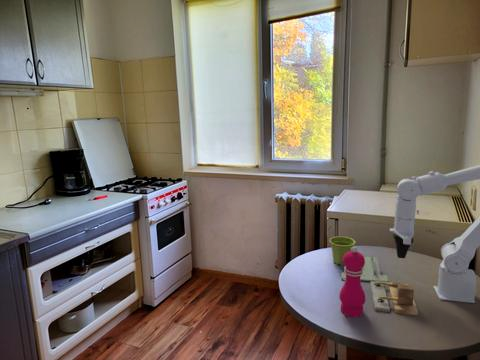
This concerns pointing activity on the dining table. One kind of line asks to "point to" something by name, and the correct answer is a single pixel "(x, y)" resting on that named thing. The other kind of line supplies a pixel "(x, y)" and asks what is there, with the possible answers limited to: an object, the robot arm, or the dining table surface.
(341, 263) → the plant pot
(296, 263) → the dining table surface
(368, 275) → the metal bracket
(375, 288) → the bolt strip
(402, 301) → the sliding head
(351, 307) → the pepper mill
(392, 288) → the trammel beam
